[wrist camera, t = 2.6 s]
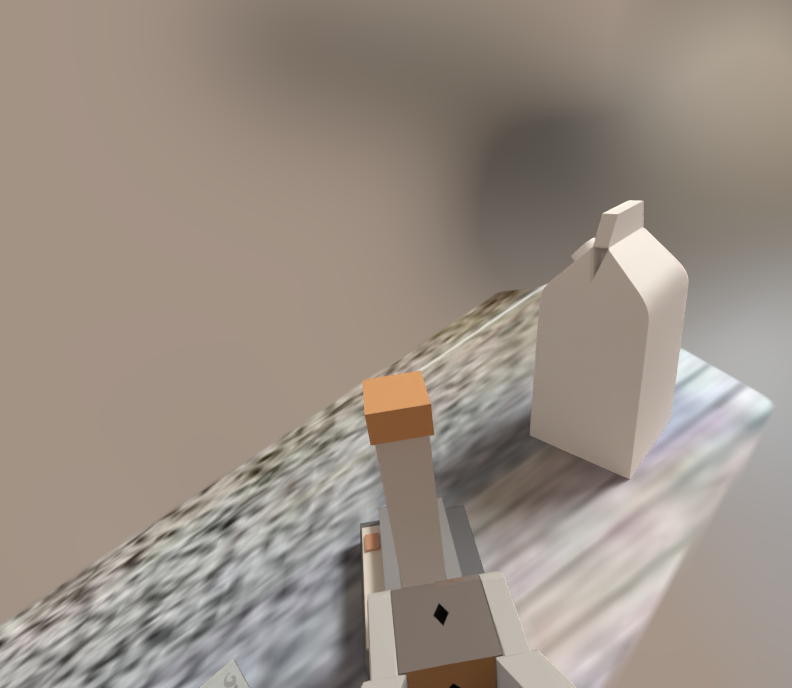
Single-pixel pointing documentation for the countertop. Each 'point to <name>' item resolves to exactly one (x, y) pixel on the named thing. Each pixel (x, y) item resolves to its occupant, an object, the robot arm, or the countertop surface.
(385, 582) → the switch base
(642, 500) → the countertop surface
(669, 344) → the milk
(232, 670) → the hard drive
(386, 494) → the grey and orange bar
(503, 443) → the countertop surface
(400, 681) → the robot arm
